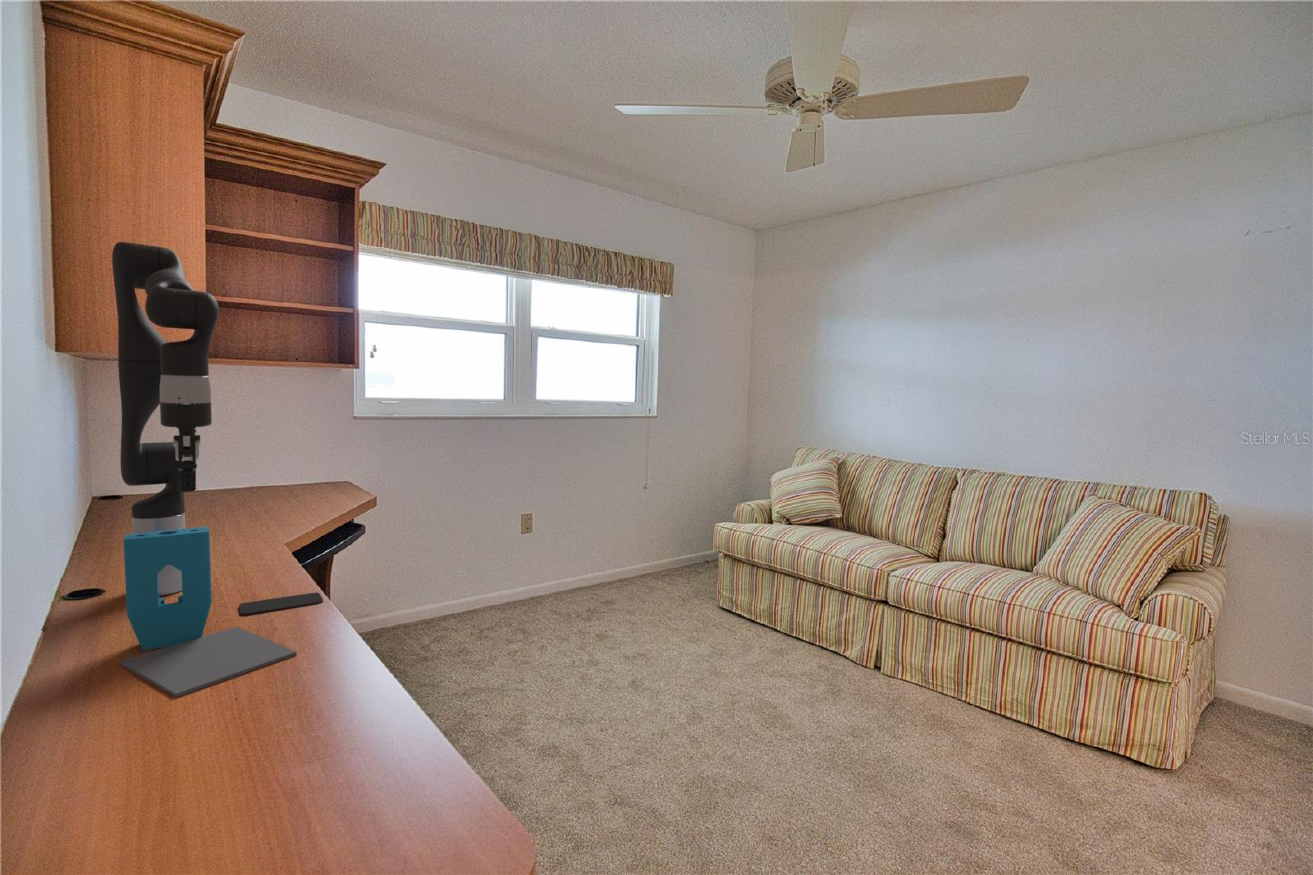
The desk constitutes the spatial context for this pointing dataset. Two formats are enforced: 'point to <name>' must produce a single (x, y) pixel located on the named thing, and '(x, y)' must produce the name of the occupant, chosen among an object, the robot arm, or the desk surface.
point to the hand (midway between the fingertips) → (188, 487)
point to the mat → (206, 660)
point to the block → (142, 566)
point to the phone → (279, 604)
